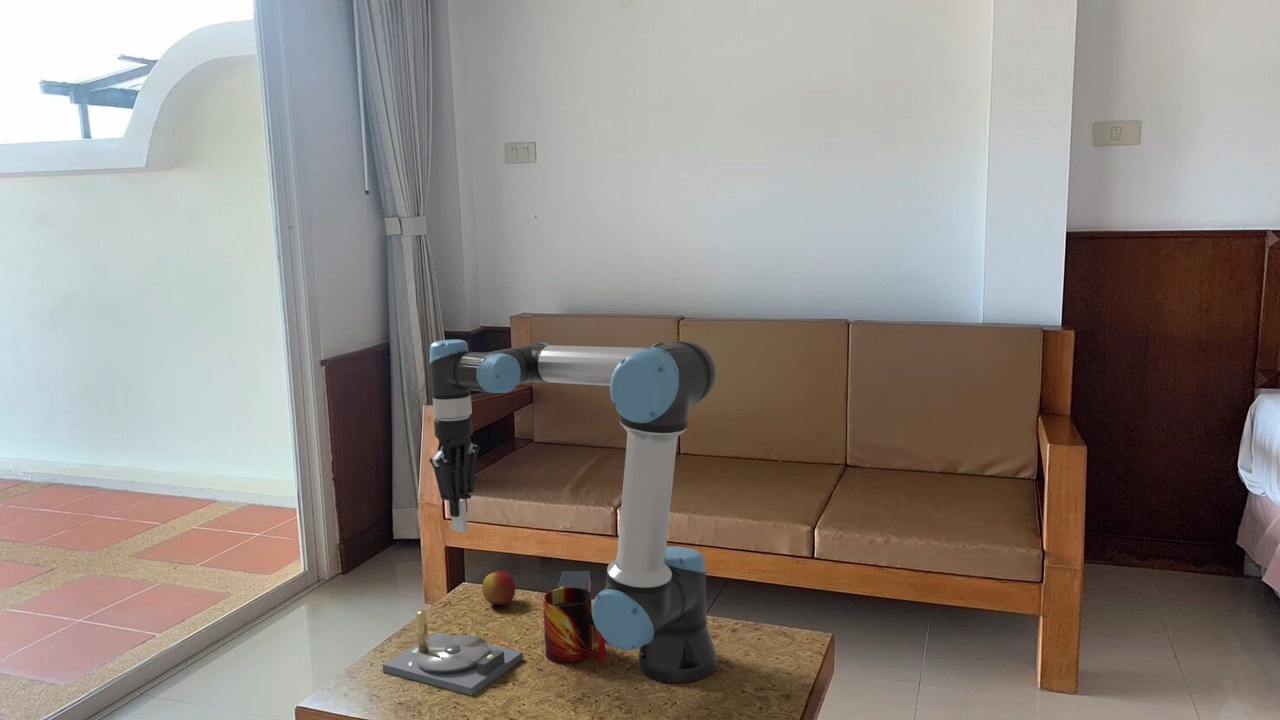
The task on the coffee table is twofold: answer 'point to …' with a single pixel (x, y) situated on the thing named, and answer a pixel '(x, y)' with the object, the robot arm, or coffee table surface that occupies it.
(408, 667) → the record turntable
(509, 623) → the coffee table surface
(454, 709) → the coffee table surface
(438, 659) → the crank wheel
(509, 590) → the apple
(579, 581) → the small box
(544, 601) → the mug
